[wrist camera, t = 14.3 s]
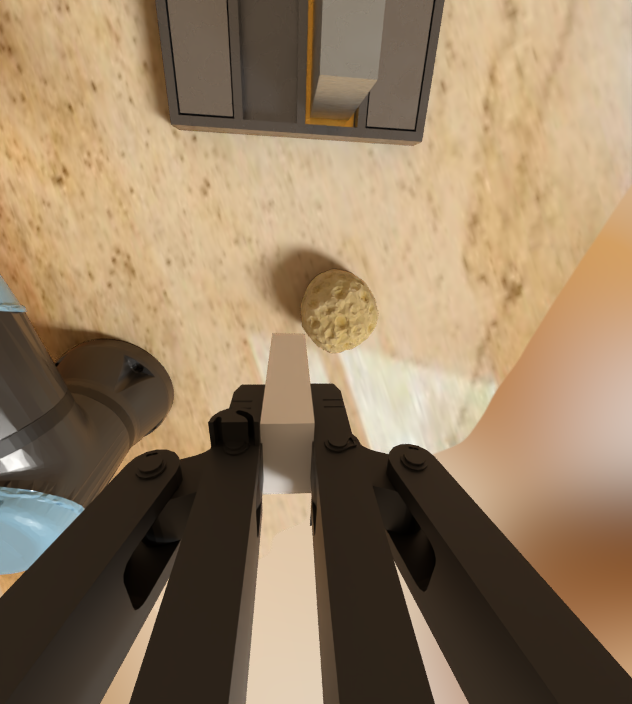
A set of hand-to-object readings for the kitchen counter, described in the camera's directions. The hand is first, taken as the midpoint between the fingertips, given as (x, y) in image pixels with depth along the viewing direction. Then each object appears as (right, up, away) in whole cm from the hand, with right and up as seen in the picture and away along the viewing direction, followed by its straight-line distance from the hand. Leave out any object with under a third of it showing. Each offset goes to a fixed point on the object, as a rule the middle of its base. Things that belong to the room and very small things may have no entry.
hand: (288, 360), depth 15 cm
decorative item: (+4, +7, +27) cm, 28 cm away
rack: (0, +29, +15) cm, 33 cm away
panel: (+3, +29, +15) cm, 33 cm away
